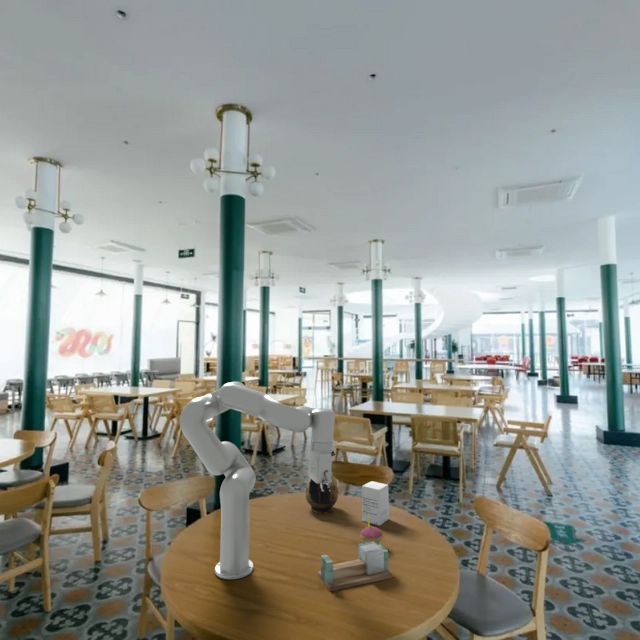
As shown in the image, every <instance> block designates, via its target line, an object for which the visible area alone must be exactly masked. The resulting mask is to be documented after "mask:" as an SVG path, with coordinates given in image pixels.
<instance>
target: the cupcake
mask: <svg viewBox="0 0 640 640" xmlns="http://www.w3.org/2000/svg"><path fill="white" fill-rule="evenodd" d="M367 520H368V522H367V526H366V527H363V528H362V529H361V530H360V532H359V535H360V539H361V540H362V542H363V543H367V542H373V541H374V542H375V543H376V544H377V545H380V542H381V541H382V540H383V538H384V533H383V531H382V530H381V529H380V528H378V527H376V526H371V525H370V524H371V523H369V515H368V513H367Z"/></svg>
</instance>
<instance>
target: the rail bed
mask: <svg viewBox="0 0 640 640" xmlns="http://www.w3.org/2000/svg"><path fill="white" fill-rule="evenodd" d="M378 546H379V547H381V548H382V549H383V550H384V572H379V573H375V574H370V575H367V574H366V573H365V562H364V561H363V560H362V559H359V560H358V559H355V560H349V561H344V562H340V563H339V562H338V563H335V564H334V562H333V560H332V559H331V558H330V557H329V555H328V554H323V555H321V556H320V570H318V571H317V575H318V577H319V579H320V580H321V581H322V582H323V584H324V585H325V587H326V588H327V589H328V591H329V592H334V591H339V590H342V589H346V588H347V589H348V588H351V587H358V586H361V585H364V584H369V583H373V582H378V581H379V582H380V581H382V580H387V579H392V578H393V573H392V572H391V571H390V570H389V550H388V549H387V548H386V547H384V546H383V545H382V544H380V543H379V545H378Z"/></svg>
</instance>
